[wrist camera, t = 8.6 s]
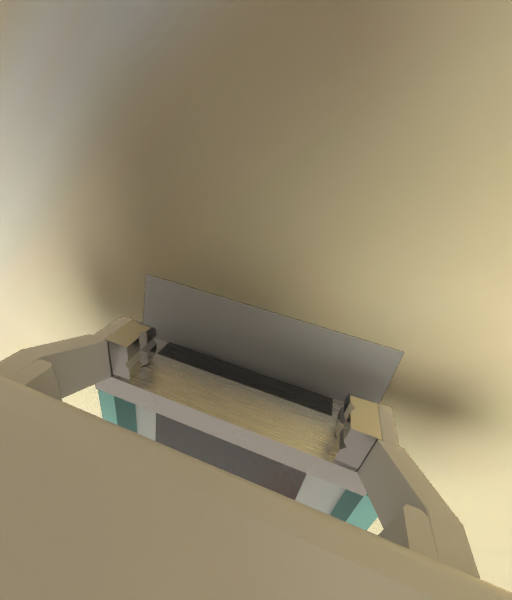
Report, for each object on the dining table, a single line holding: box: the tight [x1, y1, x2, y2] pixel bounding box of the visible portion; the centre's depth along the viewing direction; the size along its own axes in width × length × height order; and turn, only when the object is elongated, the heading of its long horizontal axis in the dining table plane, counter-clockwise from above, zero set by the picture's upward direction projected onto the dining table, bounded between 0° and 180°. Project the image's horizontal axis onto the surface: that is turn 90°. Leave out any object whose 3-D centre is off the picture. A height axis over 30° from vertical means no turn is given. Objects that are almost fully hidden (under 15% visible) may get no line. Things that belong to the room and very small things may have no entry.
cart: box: [95, 337, 367, 500], centre depth 13 cm, size 9×11×4 cm
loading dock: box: [98, 274, 404, 530], centre depth 16 cm, size 19×15×4 cm
